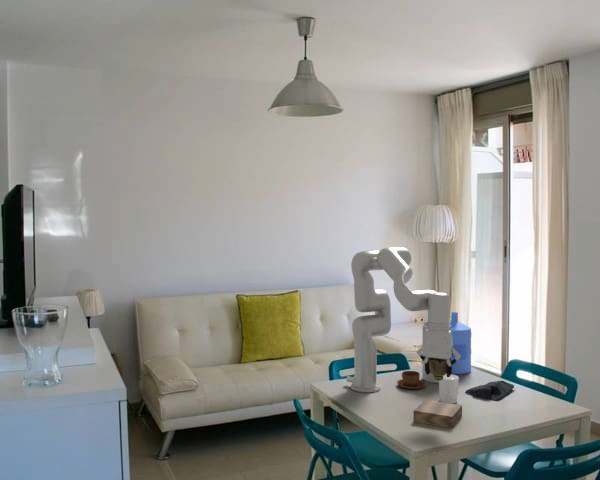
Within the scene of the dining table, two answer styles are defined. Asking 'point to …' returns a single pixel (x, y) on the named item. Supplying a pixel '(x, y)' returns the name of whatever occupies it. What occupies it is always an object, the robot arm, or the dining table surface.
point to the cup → (438, 368)
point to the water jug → (461, 345)
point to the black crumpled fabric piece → (491, 390)
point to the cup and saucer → (411, 380)
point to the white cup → (449, 389)
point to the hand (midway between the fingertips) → (438, 374)
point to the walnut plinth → (438, 413)
